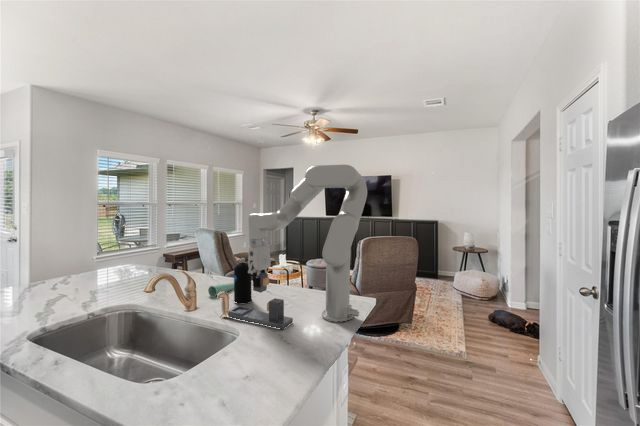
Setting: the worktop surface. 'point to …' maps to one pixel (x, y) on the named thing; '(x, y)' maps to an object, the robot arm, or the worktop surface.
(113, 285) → the worktop surface
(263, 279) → the dark grey block
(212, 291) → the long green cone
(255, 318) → the rail
